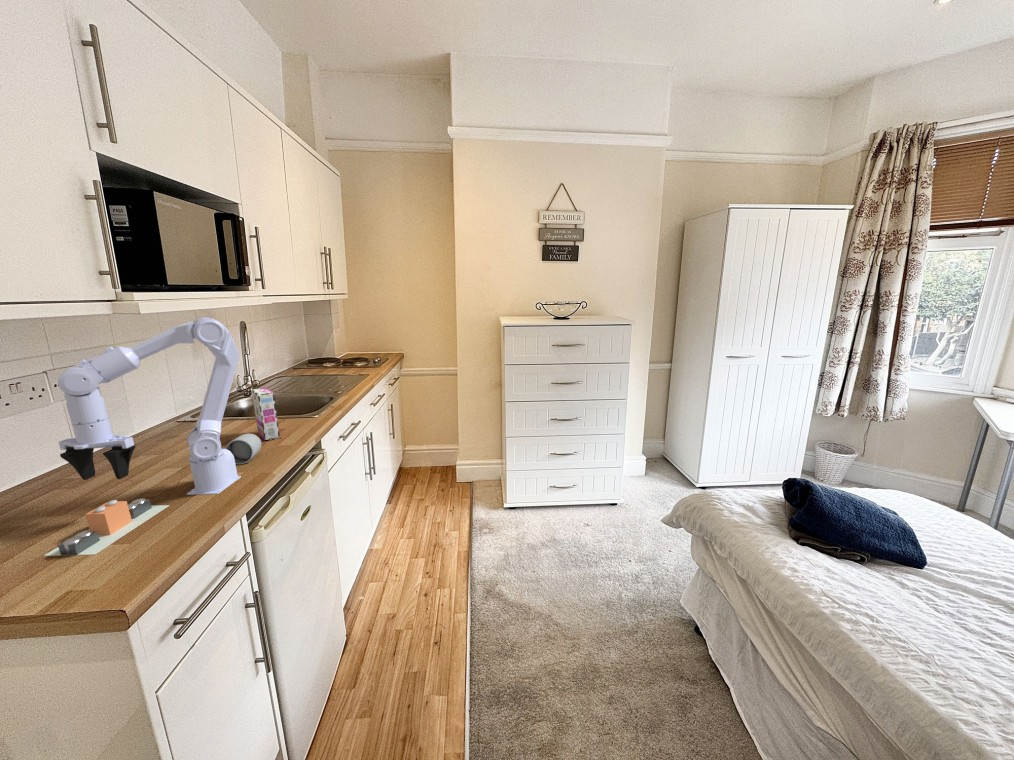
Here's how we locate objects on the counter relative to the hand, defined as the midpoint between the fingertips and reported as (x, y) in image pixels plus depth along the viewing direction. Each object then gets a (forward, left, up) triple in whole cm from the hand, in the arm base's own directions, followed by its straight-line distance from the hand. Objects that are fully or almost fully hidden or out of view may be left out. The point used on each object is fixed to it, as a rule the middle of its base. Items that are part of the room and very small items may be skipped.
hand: (106, 477), depth 91 cm
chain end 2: (0, +5, -9) cm, 10 cm away
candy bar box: (-50, +7, -10) cm, 51 cm away
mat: (+6, +5, -9) cm, 12 cm away
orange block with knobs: (+6, +5, -9) cm, 12 cm away
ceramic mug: (-30, +10, -10) cm, 33 cm away
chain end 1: (+13, +5, -9) cm, 16 cm away
